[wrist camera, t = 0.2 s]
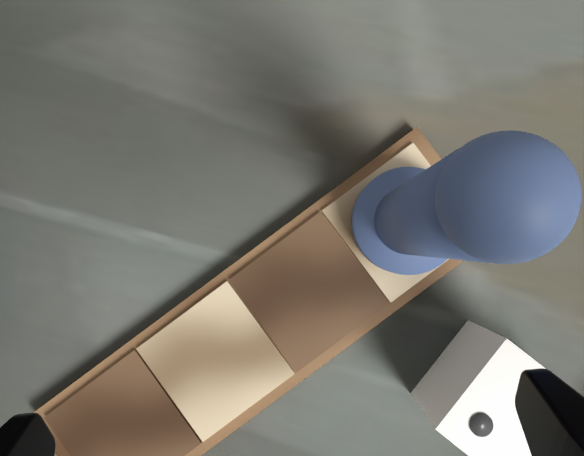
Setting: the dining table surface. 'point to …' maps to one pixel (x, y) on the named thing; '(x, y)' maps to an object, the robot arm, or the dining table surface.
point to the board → (242, 334)
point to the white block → (477, 393)
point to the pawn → (470, 206)
